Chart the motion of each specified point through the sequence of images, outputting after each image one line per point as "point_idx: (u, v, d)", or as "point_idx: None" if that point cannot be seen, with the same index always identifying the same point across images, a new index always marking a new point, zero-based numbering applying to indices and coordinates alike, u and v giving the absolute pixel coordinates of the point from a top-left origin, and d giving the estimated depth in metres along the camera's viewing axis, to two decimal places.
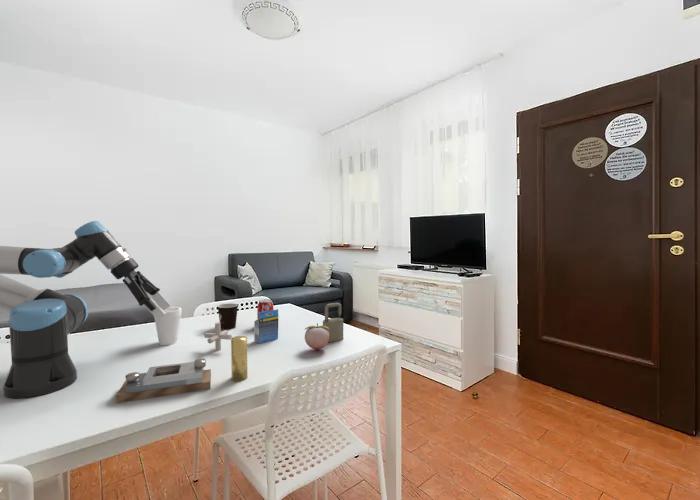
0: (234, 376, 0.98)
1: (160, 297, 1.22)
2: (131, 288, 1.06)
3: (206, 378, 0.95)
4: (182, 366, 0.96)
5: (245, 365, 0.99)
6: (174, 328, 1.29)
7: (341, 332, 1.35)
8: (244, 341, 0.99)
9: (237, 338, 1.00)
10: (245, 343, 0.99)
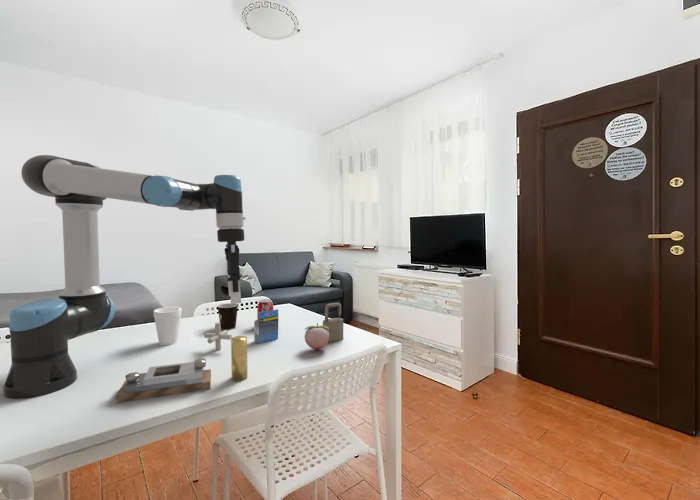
0: (234, 376, 0.98)
1: None
2: (231, 258, 0.93)
3: (206, 378, 0.95)
4: (182, 366, 0.96)
5: (245, 365, 0.99)
6: (174, 328, 1.29)
7: (341, 332, 1.35)
8: (244, 341, 0.99)
9: (237, 338, 1.00)
10: (245, 343, 0.99)
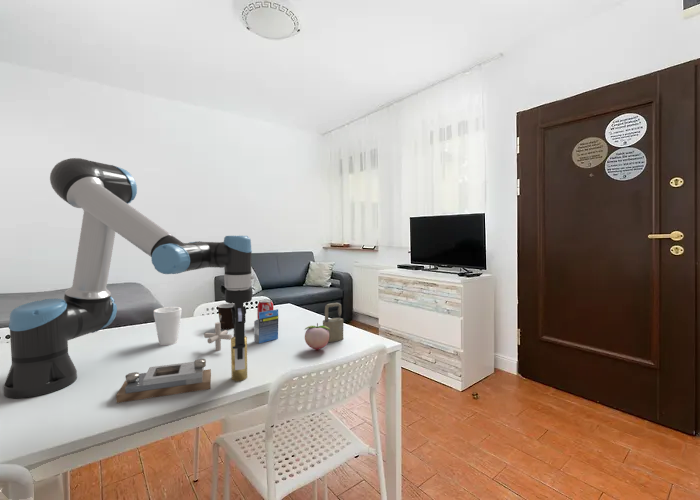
0: (234, 375, 0.98)
1: None
2: (238, 328, 0.94)
3: (206, 378, 0.95)
4: (182, 366, 0.96)
5: (245, 365, 0.99)
6: (174, 328, 1.29)
7: (341, 332, 1.35)
8: None
9: None
10: (245, 343, 0.99)
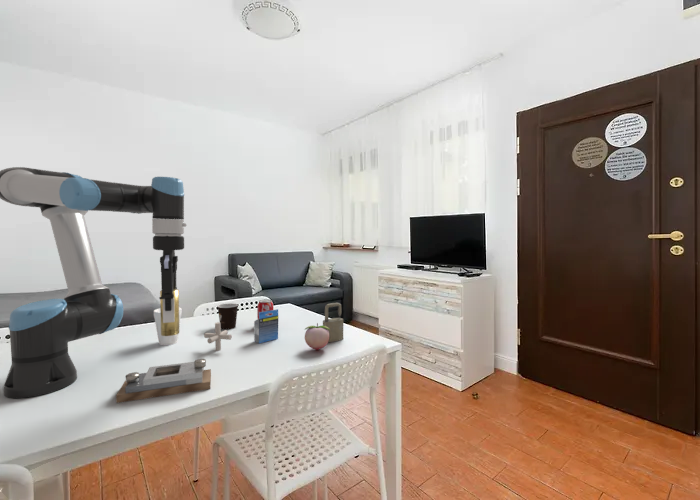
0: (162, 330, 0.91)
1: None
2: (164, 276, 0.86)
3: (206, 378, 0.95)
4: (182, 366, 0.96)
5: (175, 319, 0.92)
6: None
7: (341, 332, 1.35)
8: (174, 293, 0.91)
9: None
10: (175, 295, 0.92)
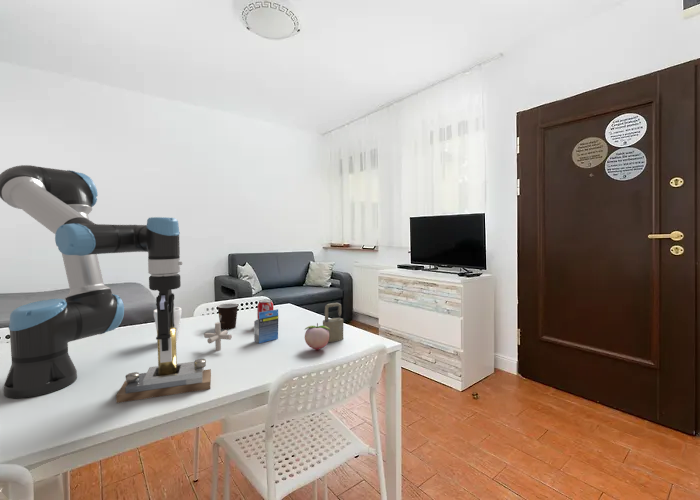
0: (160, 370, 0.91)
1: None
2: (160, 317, 0.86)
3: (206, 378, 0.95)
4: (182, 366, 0.96)
5: (173, 358, 0.92)
6: None
7: (341, 332, 1.35)
8: (171, 332, 0.91)
9: None
10: (172, 334, 0.92)
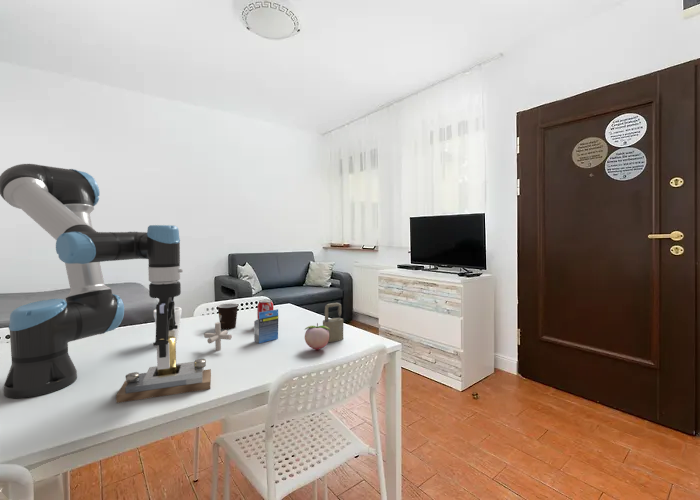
0: None
1: None
2: (159, 321, 0.85)
3: (206, 378, 0.95)
4: (182, 366, 0.96)
5: (172, 367, 0.92)
6: None
7: (341, 332, 1.35)
8: (171, 342, 0.92)
9: None
10: (172, 344, 0.92)
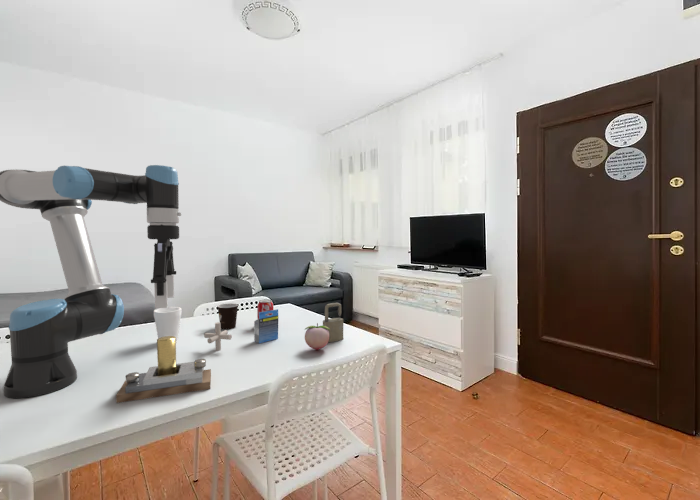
0: None
1: (170, 282, 0.98)
2: (157, 258, 0.84)
3: (206, 378, 0.95)
4: (182, 366, 0.96)
5: (172, 367, 0.92)
6: (174, 328, 1.29)
7: (341, 332, 1.35)
8: (171, 342, 0.92)
9: (164, 338, 0.93)
10: (172, 344, 0.92)
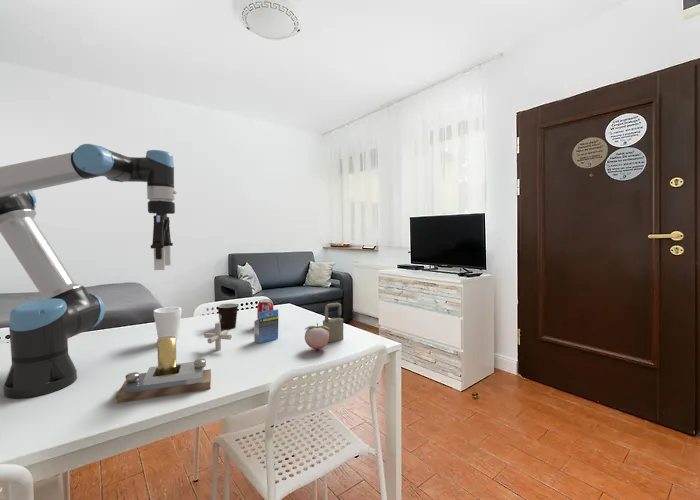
0: None
1: (168, 252, 1.14)
2: (155, 227, 1.00)
3: (206, 378, 0.95)
4: (182, 366, 0.96)
5: (173, 367, 0.92)
6: (174, 328, 1.29)
7: (341, 332, 1.35)
8: (171, 342, 0.92)
9: (165, 338, 0.93)
10: (172, 344, 0.92)
